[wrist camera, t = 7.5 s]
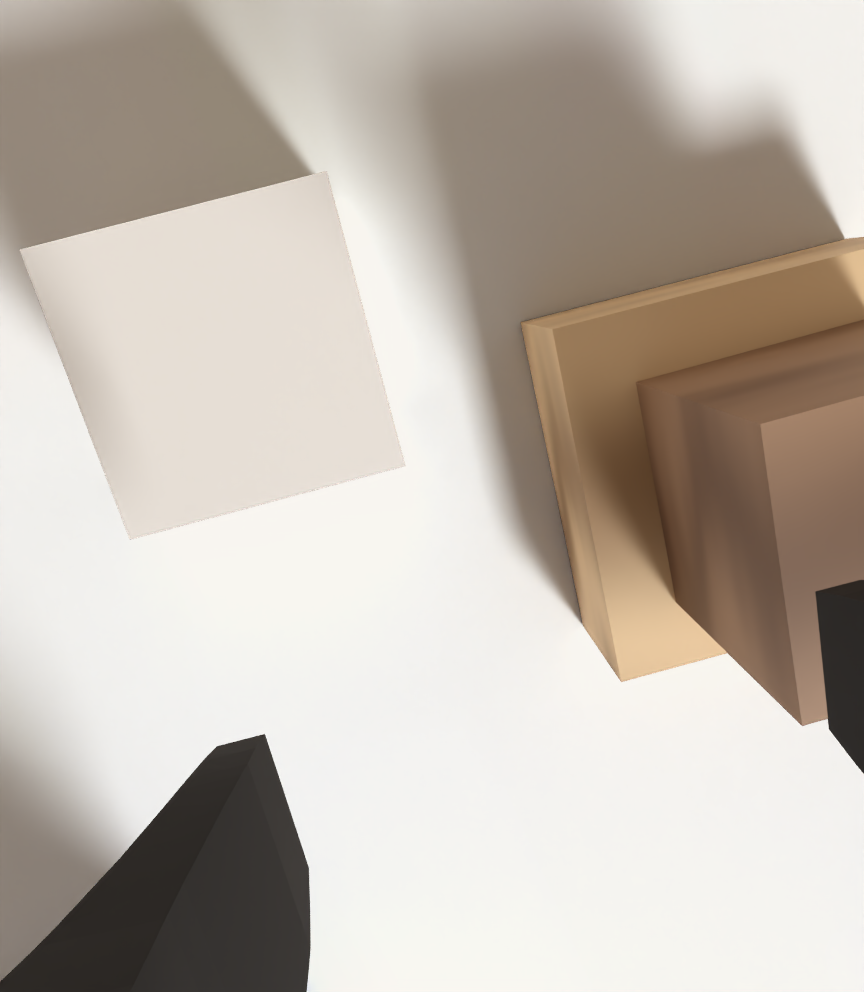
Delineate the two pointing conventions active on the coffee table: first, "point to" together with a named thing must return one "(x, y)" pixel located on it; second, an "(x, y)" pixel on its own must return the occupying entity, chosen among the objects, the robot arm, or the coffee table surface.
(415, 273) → the coffee table surface
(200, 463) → the grey cube
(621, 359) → the oak base
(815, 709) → the walnut cube
